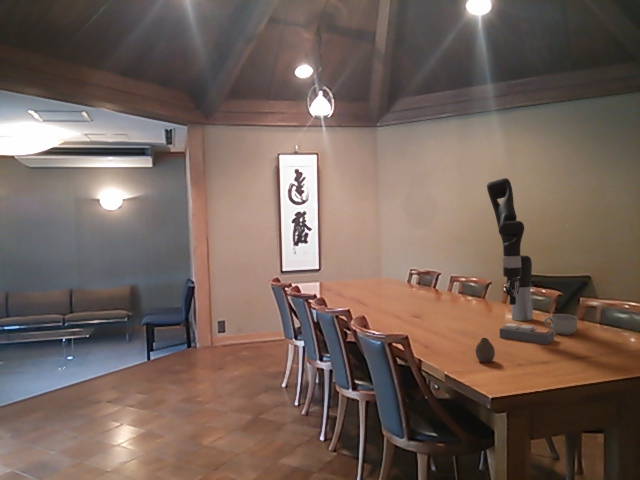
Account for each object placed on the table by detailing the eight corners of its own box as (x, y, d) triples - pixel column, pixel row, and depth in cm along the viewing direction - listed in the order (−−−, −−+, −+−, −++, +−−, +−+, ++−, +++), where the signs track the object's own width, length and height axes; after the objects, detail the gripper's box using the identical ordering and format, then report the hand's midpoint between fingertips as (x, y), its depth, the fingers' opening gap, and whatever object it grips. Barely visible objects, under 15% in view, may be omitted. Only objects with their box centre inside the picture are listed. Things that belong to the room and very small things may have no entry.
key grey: (533, 331, 212) (533, 326, 212) (529, 334, 209) (529, 328, 209) (523, 330, 215) (522, 325, 215) (519, 332, 212) (518, 327, 212)
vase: (472, 359, 186) (472, 336, 186) (490, 358, 187) (489, 335, 186) (480, 364, 179) (479, 341, 179) (498, 363, 180) (497, 340, 180)
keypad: (554, 340, 208) (554, 331, 208) (547, 344, 202) (547, 335, 202) (507, 333, 222) (507, 325, 222) (499, 337, 216) (499, 328, 216)
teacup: (575, 331, 222) (575, 313, 222) (579, 336, 212) (579, 318, 212) (542, 329, 227) (542, 313, 227) (544, 335, 217) (544, 318, 216)
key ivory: (518, 329, 216) (518, 324, 216) (514, 332, 213) (514, 326, 213) (508, 328, 220) (508, 323, 220) (504, 330, 216) (504, 325, 216)
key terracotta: (549, 336, 208) (549, 330, 207) (545, 338, 204) (545, 332, 204) (538, 334, 211) (538, 329, 211) (534, 337, 207) (534, 331, 207)
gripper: (509, 264, 222) (510, 301, 223) (497, 267, 212) (498, 306, 213) (526, 264, 217) (526, 302, 218) (515, 267, 207) (515, 307, 208)
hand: (513, 304), depth 215 cm, fingers closed
